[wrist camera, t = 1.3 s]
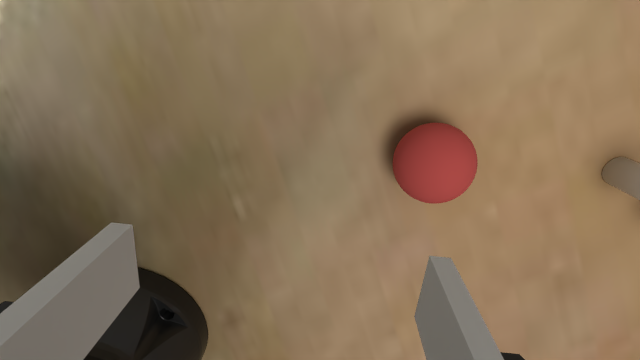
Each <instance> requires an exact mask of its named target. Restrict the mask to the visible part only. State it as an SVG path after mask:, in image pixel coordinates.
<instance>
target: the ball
mask: <svg viewBox="0 0 640 360" xmlns="http://www.w3.org/2000/svg"><path fill="white" fill-rule="evenodd" d="M393 171H394V175H395V178H396V180H397V182H398V184H399V185H400V187H401V188H402V189H403V190H404V191H405V192H406V193H407V194H408V195H409V196H411V197H413V198H414V199H417V200H419V201H422V202H425V203H443V202H447V201H450V200H453V199H455V198H457V197H458V196H460V195H461V194H462V193H464V192H465V191H466V190H467V188H468V187H469V186H470V185H471V183H472V181H473V179H474V177H475V174H476V171H477V154H476V151H475V148H474V146H473V144H472V142H471V140H470V139H469V138H468V137H467V136H466V135H465V134H464V133H463V132H462V131H461V130H459V129H457V128H455V127H453V126H451V125H448V124H444V123H427V124H423V125H420V126H418V127H416V128H414V129H412V130H411V131H409V132H408V133H407V134H406V135H405V136H404V137H403V138H402V139H401V140H400V142H399V143H398V145H397V147H396V149H395V152H394V156H393Z"/></svg>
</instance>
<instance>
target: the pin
mask: <svg viewBox="0 0 640 360" xmlns="http://www.w3.org/2000/svg"><path fill="white" fill-rule="evenodd" d="M602 178H603V180H604V181H605V182H606V183H608V184H610V185H612V186H614V187H616V188H618V189H619V190H621V191H623V192H625V193H627V194H629V195H631V196H633V197H634V198H636V199H638V200H640V163H638V162H636V161H633V160H631V159H628V158H626V157H617V158H614V159H612V160H611V161H609V162H608V163H607V164H606V165H605V166H604V168H603V170H602Z"/></svg>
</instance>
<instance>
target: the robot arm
mask: <svg viewBox="0 0 640 360" xmlns="http://www.w3.org/2000/svg"><path fill="white" fill-rule="evenodd" d="M414 317H415V320H416V324H417V327H418V331H419V335H420V338H421V342H422V345H423V349H424V352H425V356H426V359H427V360H525V359H523V358H522V357H521V356H520V355H519V354H511V353H502V352H500V351H499V349H498V347H497V345H496V343H495V341H494V339H493V337H492V336H491V334H490V332H489V330H488V328H487V326H486V324H485V322H484V320H483V318H482V316H481V314H480V313H479V311H478V309H477V307H476V305H475V303H474V301H473V299H472V297H471V295H470V293H469V292H468V290H467V288H466V286H465V284H464V282H463V280H462V278H461V276H460V274H459V272H458V270H457V269H456V267H455V265H454V263H453V261H452V259H451V258H446V257H436V256H429V260H428V264H427V268H426V272H425V276H424V280H423V284H422V288H421V292H420V296H419V300H418V304H417V308H416V312H415V316H414ZM207 340H208V331H207V325H206V321H205V319H204V316H203V314H202V312H201V310H200V309H199V307H198V306H197V304H196V303H195V302H194V300H193V299H192V298H191V297H190V296H189V295H188V294H187V293H186V292H185V291H184V290H183V289H181V288H180V287H179V286H177V285H176V284H174V283H173V282H171V281H170V280H168V279H166V278H164V277H162V276H160V275H158V274H155V273H152V272H149V271H146V270H142V269H138V268H137V259H136V250H135V241H134V233H133V225H131V224H121V223H112V222H111V223H110V224H109V225H107V226H106V227H105V228H104V229H103V230H101V231H100V232H99V233H98V234H97V235H95V236H94V237H93V238H92V239H90V240H89V241H88V242H87V243H86V244H84V245H83V246H82V247H81V248H79V249H78V250H77V251H76V252H75V253H73V254H72V255H71V256H70V257H69V258H67V259H66V260H65V261H64V262H62V263H61V264H60V265H59V266H58V267H56V268H55V269H54V270H53V271H52V272H50V273H49V274H48V275H47V276H45V277H44V278H43V279H42V280H41V281H39V282H38V283H37V284H36V285H34V286H33V287H32V288H31V289H30V290H28V291H27V292H26V293H25V294H24V295H22V296H21V297H20V298H19V299H17V300H16V301H15V302H7V301H5V302H3V303H1V304H0V360H201V359H202V356H203V354H204V351H205V349H206V346H207Z"/></svg>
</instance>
